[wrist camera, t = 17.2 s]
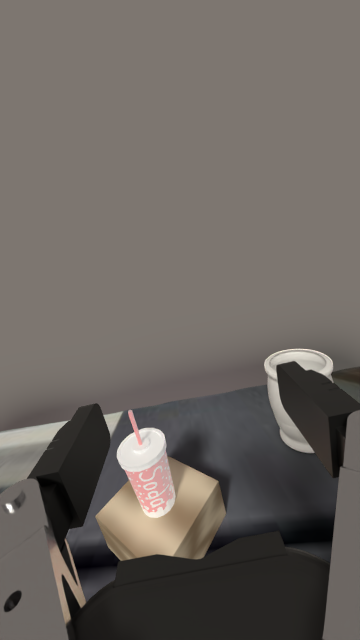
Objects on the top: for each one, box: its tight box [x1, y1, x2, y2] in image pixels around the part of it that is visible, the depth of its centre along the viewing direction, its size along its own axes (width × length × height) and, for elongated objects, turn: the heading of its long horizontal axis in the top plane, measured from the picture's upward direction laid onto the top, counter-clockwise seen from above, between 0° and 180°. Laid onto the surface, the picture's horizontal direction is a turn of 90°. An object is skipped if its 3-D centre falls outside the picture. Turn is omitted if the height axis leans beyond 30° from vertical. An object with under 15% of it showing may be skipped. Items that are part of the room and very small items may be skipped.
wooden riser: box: [95, 456, 226, 561], centre depth 33 cm, size 12×12×6 cm
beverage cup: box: [117, 410, 176, 518], centre depth 31 cm, size 6×6×14 cm
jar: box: [264, 349, 333, 453], centre depth 42 cm, size 11×10×15 cm
